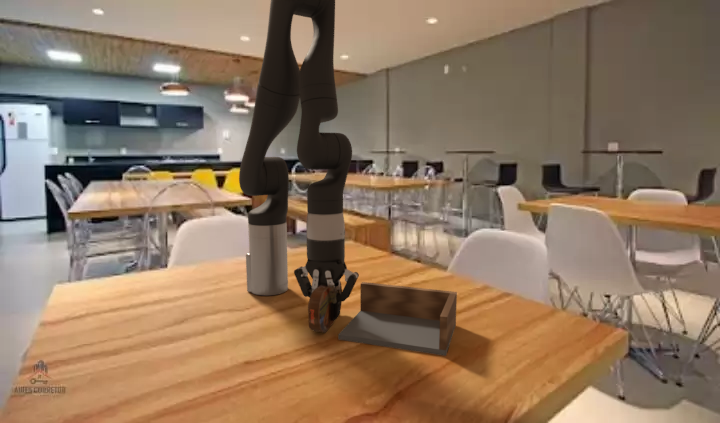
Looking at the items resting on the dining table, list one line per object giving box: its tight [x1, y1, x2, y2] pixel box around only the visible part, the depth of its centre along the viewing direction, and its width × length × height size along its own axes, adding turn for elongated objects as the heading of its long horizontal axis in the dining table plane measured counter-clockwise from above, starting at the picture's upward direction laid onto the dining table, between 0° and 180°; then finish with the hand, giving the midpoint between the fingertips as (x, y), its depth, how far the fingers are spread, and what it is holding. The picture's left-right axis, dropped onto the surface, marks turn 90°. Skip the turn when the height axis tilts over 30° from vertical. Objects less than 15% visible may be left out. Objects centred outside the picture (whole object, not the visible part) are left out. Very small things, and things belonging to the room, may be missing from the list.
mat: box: [337, 310, 457, 357], centre depth 86 cm, size 20×14×1 cm
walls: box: [360, 281, 458, 350], centre depth 86 cm, size 20×14×6 cm
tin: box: [307, 281, 343, 334], centre depth 90 cm, size 15×3×8 cm, turn 166°
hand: (326, 317), depth 90 cm, fingers open, 3 cm apart
